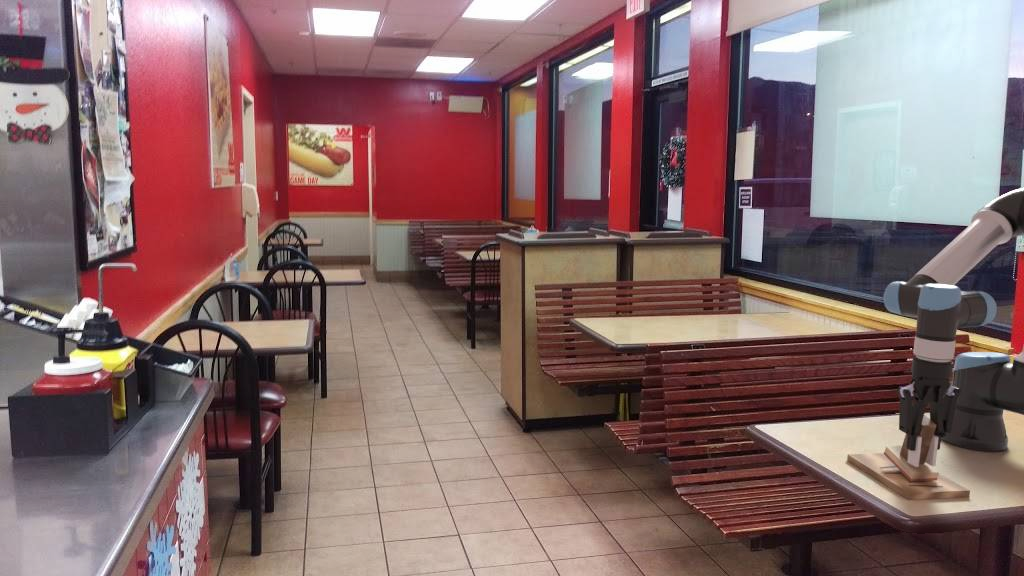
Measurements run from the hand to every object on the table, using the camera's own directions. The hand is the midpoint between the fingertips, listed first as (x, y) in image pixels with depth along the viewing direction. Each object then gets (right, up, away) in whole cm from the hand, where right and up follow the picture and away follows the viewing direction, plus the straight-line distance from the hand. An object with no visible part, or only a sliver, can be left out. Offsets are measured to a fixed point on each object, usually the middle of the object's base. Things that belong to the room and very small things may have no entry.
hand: (921, 463), depth 166 cm
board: (-1, -4, +5) cm, 7 cm away
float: (-1, -2, +4) cm, 4 cm away
